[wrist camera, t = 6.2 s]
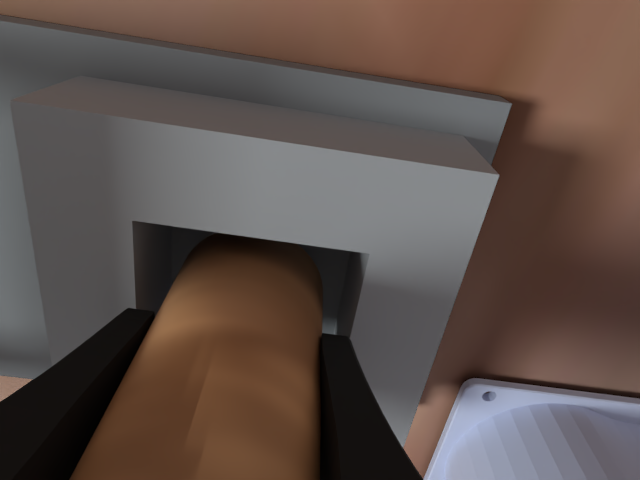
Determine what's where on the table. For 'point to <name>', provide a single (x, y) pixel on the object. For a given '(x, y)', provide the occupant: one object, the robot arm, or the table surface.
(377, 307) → the socket stand
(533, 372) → the table surface
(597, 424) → the robot arm
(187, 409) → the peg
